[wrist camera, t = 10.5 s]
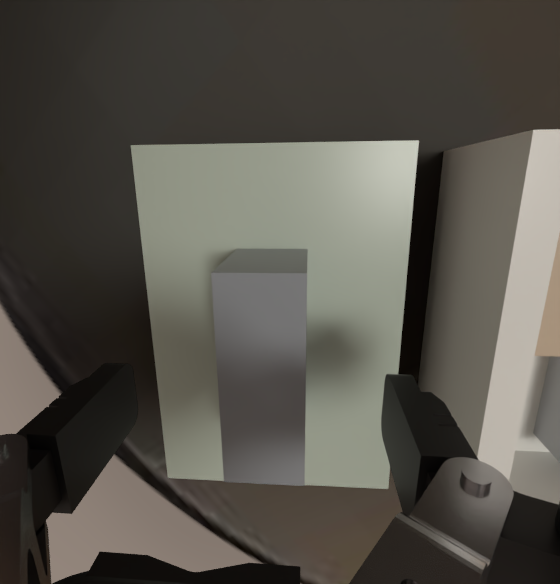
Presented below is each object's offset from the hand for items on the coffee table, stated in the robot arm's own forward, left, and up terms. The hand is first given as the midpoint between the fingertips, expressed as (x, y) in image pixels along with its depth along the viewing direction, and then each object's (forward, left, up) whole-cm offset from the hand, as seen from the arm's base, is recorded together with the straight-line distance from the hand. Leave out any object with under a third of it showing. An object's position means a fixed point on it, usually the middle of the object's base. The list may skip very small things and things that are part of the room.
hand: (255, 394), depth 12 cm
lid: (0, 0, -8) cm, 8 cm away
